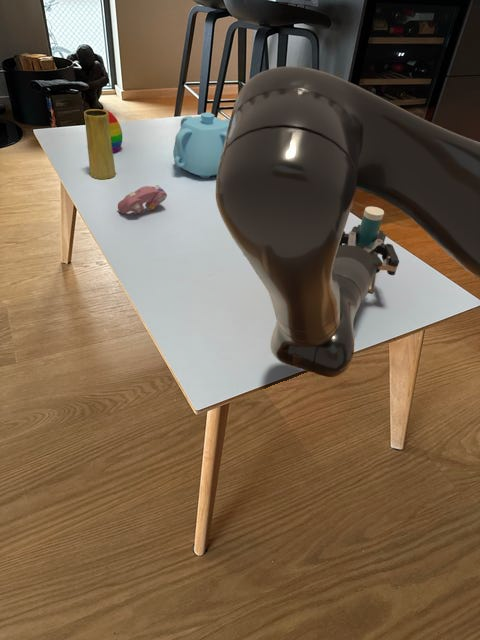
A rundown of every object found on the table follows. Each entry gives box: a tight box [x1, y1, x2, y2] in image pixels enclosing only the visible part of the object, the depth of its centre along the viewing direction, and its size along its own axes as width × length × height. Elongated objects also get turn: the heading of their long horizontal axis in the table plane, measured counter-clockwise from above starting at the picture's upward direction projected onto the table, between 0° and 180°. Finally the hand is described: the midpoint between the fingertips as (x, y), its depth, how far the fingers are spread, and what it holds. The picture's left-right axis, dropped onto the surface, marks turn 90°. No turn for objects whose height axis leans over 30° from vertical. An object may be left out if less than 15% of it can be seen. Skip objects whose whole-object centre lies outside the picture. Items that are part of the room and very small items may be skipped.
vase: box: [83, 108, 117, 180], centre depth 108 cm, size 6×6×14 cm
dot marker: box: [356, 205, 385, 246], centre depth 82 cm, size 3×3×13 cm
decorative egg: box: [104, 109, 123, 153], centre depth 122 cm, size 8×8×10 cm
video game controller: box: [117, 184, 168, 215], centre depth 98 cm, size 10×5×7 cm, turn 132°
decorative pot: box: [172, 112, 230, 179], centre depth 116 cm, size 16×16×14 cm
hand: (369, 232), depth 83 cm, fingers closed on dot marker, 3 cm apart
